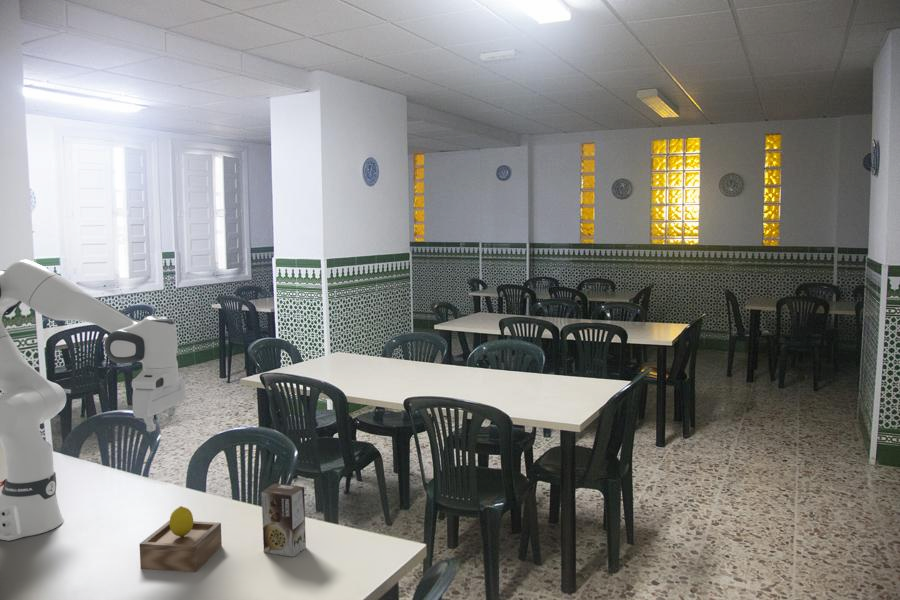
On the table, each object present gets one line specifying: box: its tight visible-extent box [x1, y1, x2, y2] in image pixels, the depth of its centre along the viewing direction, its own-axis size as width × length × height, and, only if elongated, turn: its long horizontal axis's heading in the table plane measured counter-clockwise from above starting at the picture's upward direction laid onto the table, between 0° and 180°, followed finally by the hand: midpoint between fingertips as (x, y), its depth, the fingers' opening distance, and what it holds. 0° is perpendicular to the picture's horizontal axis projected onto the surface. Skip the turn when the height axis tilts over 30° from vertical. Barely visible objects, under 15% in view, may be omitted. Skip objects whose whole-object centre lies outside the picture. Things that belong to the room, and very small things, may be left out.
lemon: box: [169, 505, 194, 538], centre depth 173 cm, size 6×6×8 cm
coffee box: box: [260, 483, 307, 558], centre depth 177 cm, size 9×6×16 cm
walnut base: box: [139, 519, 223, 573], centre depth 173 cm, size 14×14×6 cm
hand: (161, 425), depth 189 cm, fingers open, 8 cm apart
